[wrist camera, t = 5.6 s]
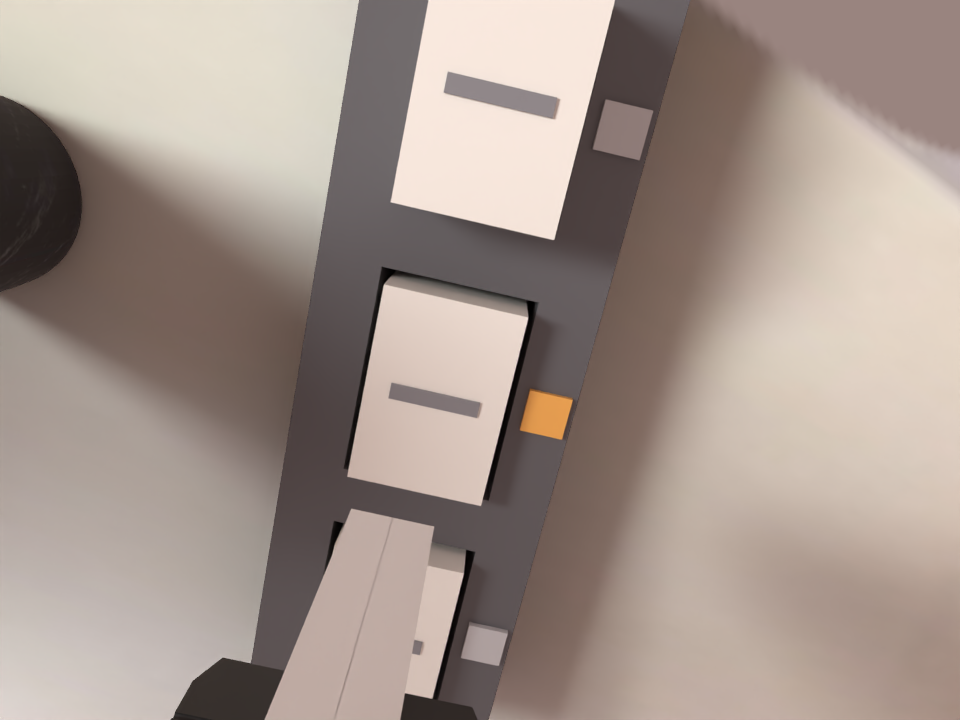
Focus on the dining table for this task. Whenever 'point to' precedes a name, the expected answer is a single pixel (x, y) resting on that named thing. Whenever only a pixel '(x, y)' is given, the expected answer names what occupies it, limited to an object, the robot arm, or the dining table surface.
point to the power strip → (470, 262)
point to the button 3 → (500, 109)
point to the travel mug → (33, 197)
